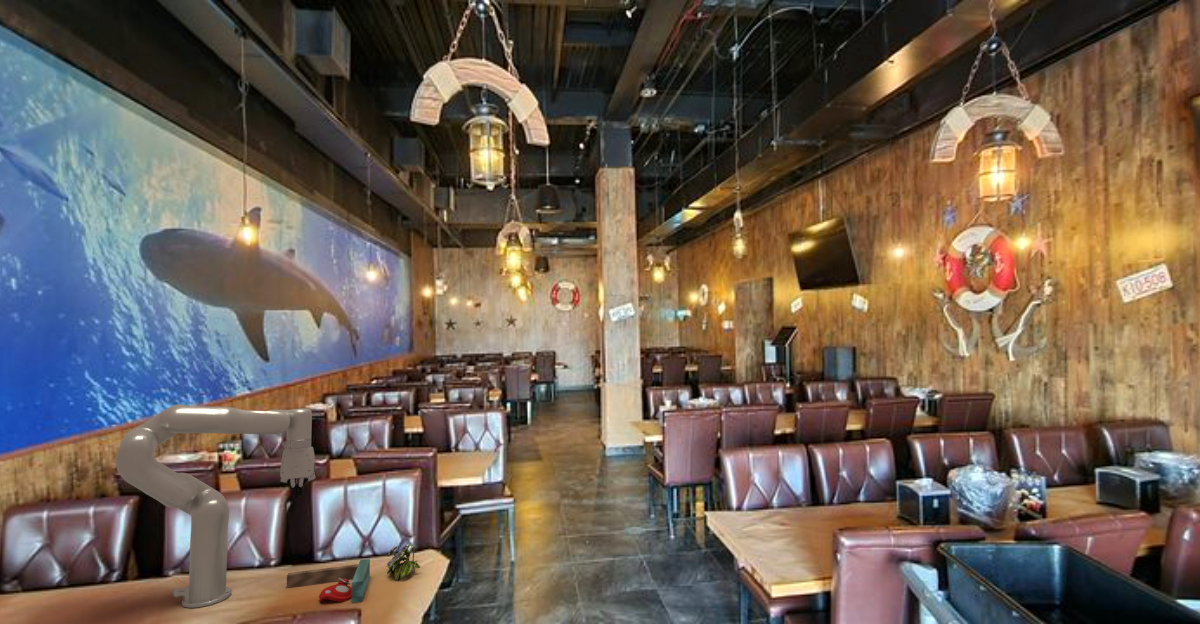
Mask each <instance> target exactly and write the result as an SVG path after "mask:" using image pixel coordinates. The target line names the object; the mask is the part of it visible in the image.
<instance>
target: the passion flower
mask: <svg viewBox="0 0 1200 624" xmlns="http://www.w3.org/2000/svg"><path fill="white" fill-rule="evenodd" d="M410 544H411V543H408V544H407V545H405V546H403V547H402V548H400V550H399V551H397V552H395V550H396V549H397V548H398V545H397V546H394V547H393V548H392V549H390V551H389V552H388V553H387V557H390V556H391V555H392V554H393V556H392V558H391V559H390V560H389V561H388V562H387V563H386V568H388V570H387V572H386V574H394V580H396V581H397V582H398V581H399V579H403V578H405V576H408V575H409V574H410V573H411V571H412V569H413V572H414V573H416V568H418V569H420V568H421V565H420V564H419V563H418V560H415V552H416V551H415V550H416V549H415V548H416V547H414V545H411V547H410ZM409 548H410V549H409ZM411 553H412V560H411V561H410V557H411ZM414 560H415V561H414ZM402 561H403V562H402ZM399 577H400V578H399Z"/></svg>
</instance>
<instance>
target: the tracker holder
mask: <svg viewBox="0 0 1200 624" xmlns="http://www.w3.org/2000/svg"><path fill="white" fill-rule="evenodd" d="M338 579H339V581H337V582H338V583H335V584H332V585H329V586H327V587H325V588H323V589H322V590H321V592H320V593H319V595H318V598H319V601H320V602H321V603H323V602H325V601H328V600H330V601H334V602H347V601H349V600H352V586H349V585H351V582H350V580H347V579H341V578H338Z"/></svg>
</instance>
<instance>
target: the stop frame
mask: <svg viewBox="0 0 1200 624" xmlns="http://www.w3.org/2000/svg"><path fill="white" fill-rule="evenodd" d="M370 566H371V559H370V558H364V559H360V560H359V563H357V564H356V563H355V564H349V565H343V566H341V565H340V566H333V567H325V568H319V569H312V570H311V569H309V570H303V571H296V572H295V571H294V572H288V573H287V575H286V589H290V588H291V589H292V588H299V587H305V586H312V585H319V584H328V583H334V582H339V579H338V578H341V579H347V580H348V581H350V580H352V581H351V588H352V598H351V604H354V603H360V602H363V601H364V597H365V594H366V591H367V587H368V583H369V580H370V577H371V573H370V572H371V567H370Z"/></svg>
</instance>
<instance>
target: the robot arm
mask: <svg viewBox="0 0 1200 624" xmlns="http://www.w3.org/2000/svg"><path fill="white" fill-rule="evenodd" d="M312 421H313V413H312V410H311V408H305V407H304V408H293V409H270V410H248V409H242V408H241V409H240V408H236V407H232V406H205V405H203V406H202V405H201V406H199V405H186V404H181V403H180V404H173V405H171V406H168V407H167V408H166V409H164V410H162V411H161V412H159V413H158V414H156V415H155V416H153V417H151V418H150V419H148V420H147V421H144V422H143V423H141V424H140V425H138V426H137V427H135V428H134V429H132V430H130V431H128V432H127V433H126V434H125V435H124V436H123V437H122V440H121V441H120V444H119V446H118V450H117V453H116V458H115V466H116V470H117V472H118V475H119V476H120V477H121V478H122V479H123V480H124V481H125V482H127V484H129V485H131V486H133V487H134V488H136V489H138V490H140V491H141V492H142V493H144V494H145V495H147V496H148V497H150V498H153V499H154V500H155V501H158V502H159V503H160V504H162V505H163V506H165V507H167V508H170V509H179V510H180V511H182V512H183V513H185V514H187V515H189V516H190V517H191V518H190V519H191V520H190V538H189V539H190V541H189V545H190V546H189V569H188V571H189V573H188V574H189V575H188V585H187V586H186V587H178V588H174V589H173V591H172V595H173V597H174V598H180V597H183V598H182V600H181V605H182V607H185V608H187V609H190V608H191V609H192V608H195V609H196V608H201V607H206V606H211V605H213V604H214V605H215V604H217V603H219V602H220V603H221V602H222V601H224V600H225V599H228V598H229V597H230V596H231V595H232V593H233V589H232V588H231V587H230V586H227V571H228V570H227V566H228V565H227V563H228V559H227V558H228V537H229V536H228V533H229V530H228V529H229V521H230V505H229V503H228V501H227V499H226V497H224V495H223V493H221V492H220V491H219V490H216V489H215V488H213V487H211V486H210V485H208V484H206V483H205V482H203V481H202V480H200V479H198V478H196V477H194V476H193V475H192V474H189V473H187V472H177V471H174V470H173V469H171V468H170V467H168V466H167V465H166V464H164V463H162V462H160V461H158V460H157V458H155V455H154V454H155V451H156V449H157V448H158V447H159V446H160V445H162V444H164V443H165V442H167V441H169V440H170V439H172V438H173V437H175V436H176V435H177V434H222V435H223V434H226V435H237V434H239V435H241V434H242V435H243V434H245V435H279V434H282V433H284V432H286V440H285V441H282V443H281V446H282V447H285V449H283V452H282V456H281V463H280V470H279V476H280V482H282V483H287V484H288V485H290V486H291V488H292V491H291V493H292V495H291V496H292V497H293V499H294V500H299V499H301V497H302V496H303V495H304V485H306V483H307V482H311V481H313V480H315V479H316V474H315V473H316V459H315V458H316V457H315V450H314V447H313V446H312V424H313V422H312ZM297 479H299V483H298V481H297Z"/></svg>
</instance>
